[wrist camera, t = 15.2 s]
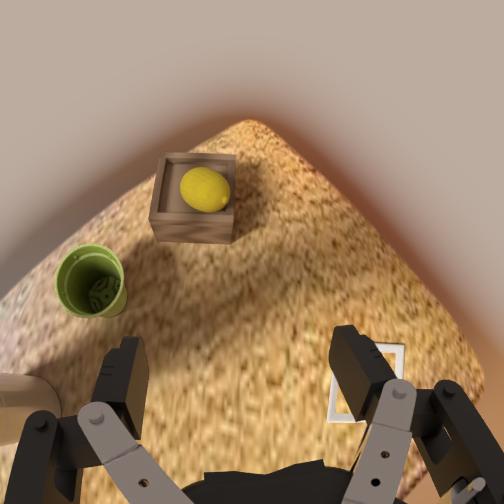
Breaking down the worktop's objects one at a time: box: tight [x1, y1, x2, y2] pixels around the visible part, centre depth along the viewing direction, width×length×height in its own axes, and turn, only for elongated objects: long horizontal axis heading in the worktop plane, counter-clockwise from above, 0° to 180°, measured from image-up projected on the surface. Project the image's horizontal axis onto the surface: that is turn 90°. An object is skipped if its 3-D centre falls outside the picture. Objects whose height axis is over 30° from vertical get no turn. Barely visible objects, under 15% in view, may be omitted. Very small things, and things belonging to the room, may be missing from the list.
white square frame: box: [327, 343, 405, 423], centre depth 40 cm, size 12×12×5 cm
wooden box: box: [149, 153, 236, 244], centre depth 46 cm, size 11×11×8 cm
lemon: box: [180, 167, 230, 212], centre depth 41 cm, size 6×6×8 cm
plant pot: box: [55, 243, 127, 318], centre depth 39 cm, size 9×9×9 cm
